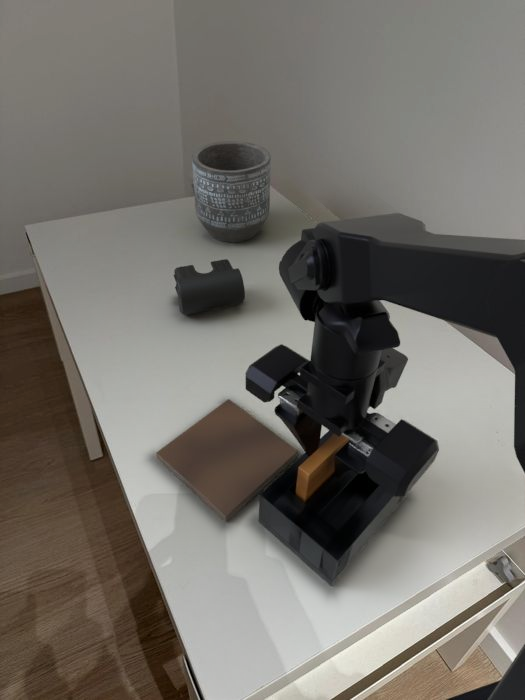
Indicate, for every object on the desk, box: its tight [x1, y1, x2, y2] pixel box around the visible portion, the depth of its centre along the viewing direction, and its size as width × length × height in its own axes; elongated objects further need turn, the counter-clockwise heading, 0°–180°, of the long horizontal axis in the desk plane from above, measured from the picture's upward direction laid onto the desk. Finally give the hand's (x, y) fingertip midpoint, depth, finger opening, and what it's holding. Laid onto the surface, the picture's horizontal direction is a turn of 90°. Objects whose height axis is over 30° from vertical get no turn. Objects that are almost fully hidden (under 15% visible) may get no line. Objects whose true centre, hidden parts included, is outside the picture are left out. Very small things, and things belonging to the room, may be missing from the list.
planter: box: [191, 140, 272, 243], centre depth 97 cm, size 14×14×15 cm
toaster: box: [258, 430, 408, 587], centre depth 56 cm, size 10×15×6 cm, turn 137°
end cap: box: [173, 258, 246, 316], centre depth 82 cm, size 10×7×7 cm
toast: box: [295, 434, 349, 505], centre depth 55 cm, size 1×8×8 cm, turn 136°
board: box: [155, 399, 299, 523], centre depth 62 cm, size 12×12×1 cm
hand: (325, 464), depth 54 cm, fingers open, 3 cm apart
